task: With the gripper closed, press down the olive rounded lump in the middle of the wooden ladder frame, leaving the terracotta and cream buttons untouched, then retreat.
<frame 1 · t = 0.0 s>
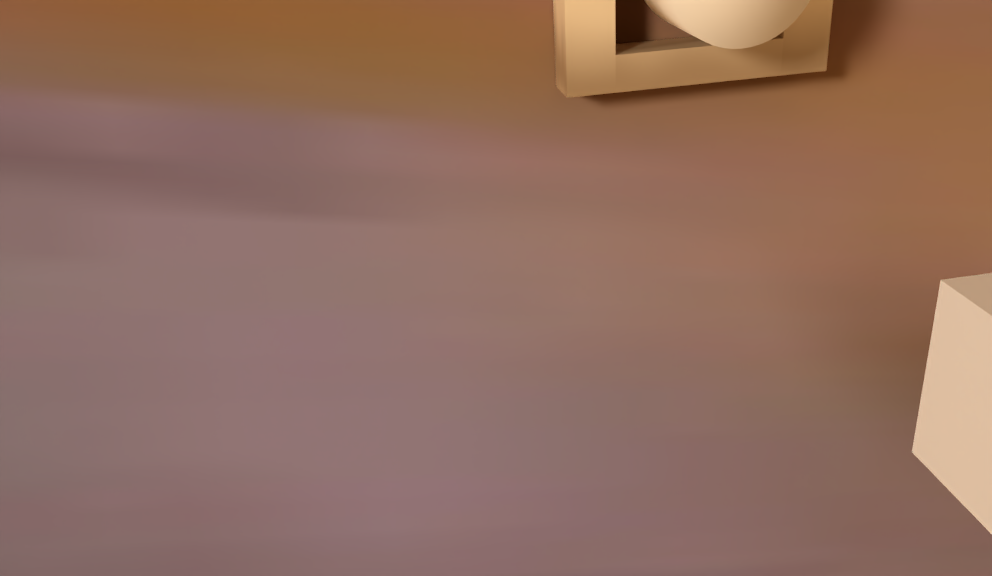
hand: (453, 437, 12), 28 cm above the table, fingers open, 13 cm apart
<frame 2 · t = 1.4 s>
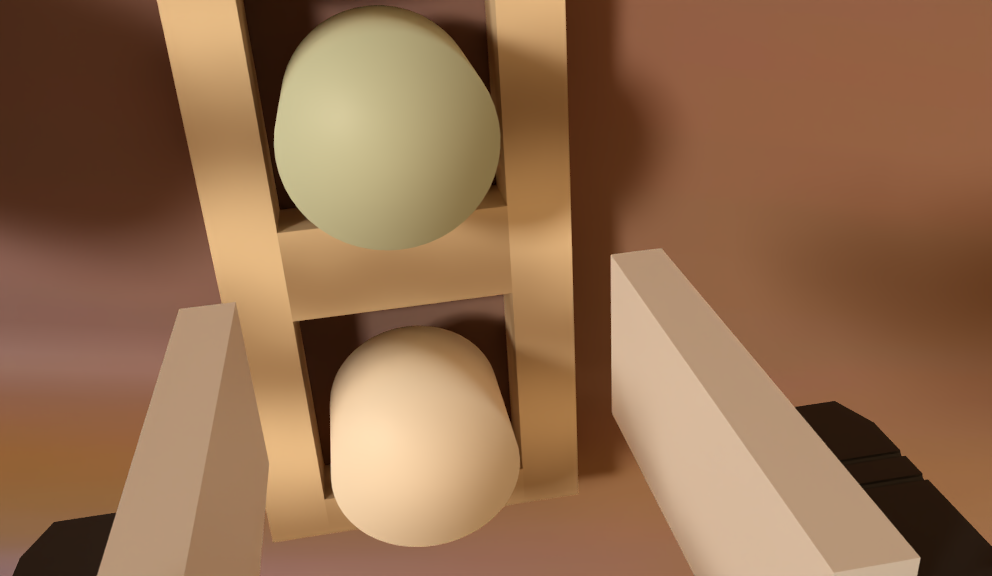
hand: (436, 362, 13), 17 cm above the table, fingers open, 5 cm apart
cream button: (420, 433, 29), point 4 cm above the table, slide at 0.0 cm
wooden ladder frame: (376, 89, 28), on the table
olive rounded lump: (384, 124, 25), point 4 cm above the table, slide at 0.0 cm
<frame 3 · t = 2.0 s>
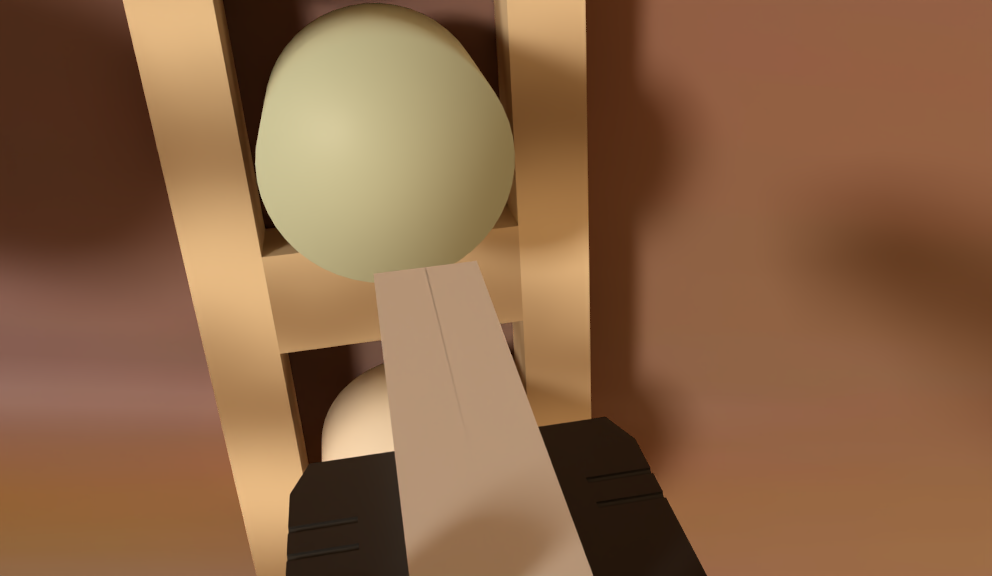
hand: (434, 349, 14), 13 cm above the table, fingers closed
cream button: (422, 477, 26), point 4 cm above the table, slide at 0.0 cm
wooden ladder frame: (373, 96, 25), on the table
olive rounded lump: (382, 139, 22), point 4 cm above the table, slide at 0.0 cm
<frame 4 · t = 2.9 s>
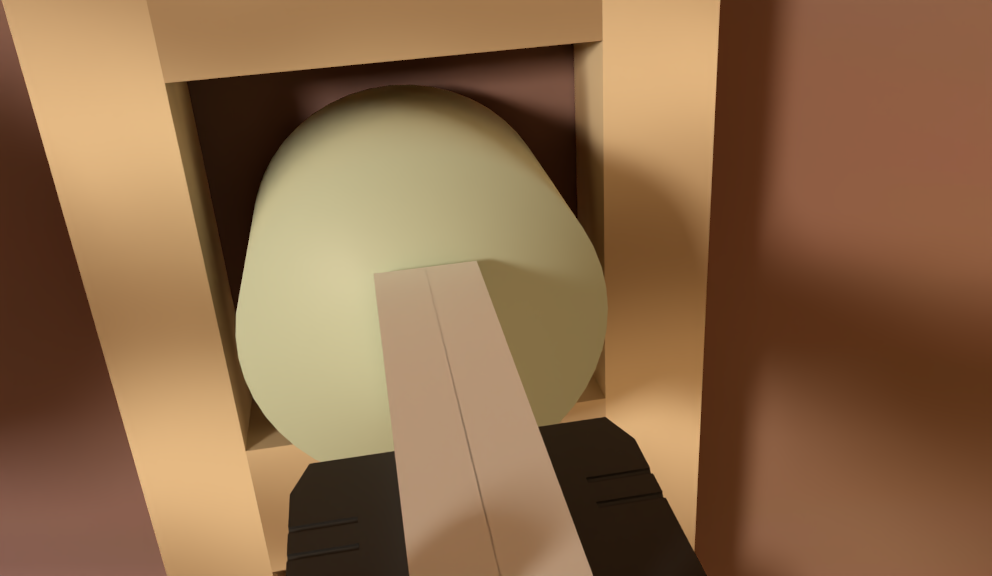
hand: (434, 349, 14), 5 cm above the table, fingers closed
wooden ladder frame: (402, 218, 18), on the table
olive rounded lump: (415, 276, 16), point 3 cm above the table, slide at 1.3 cm, touching gripper
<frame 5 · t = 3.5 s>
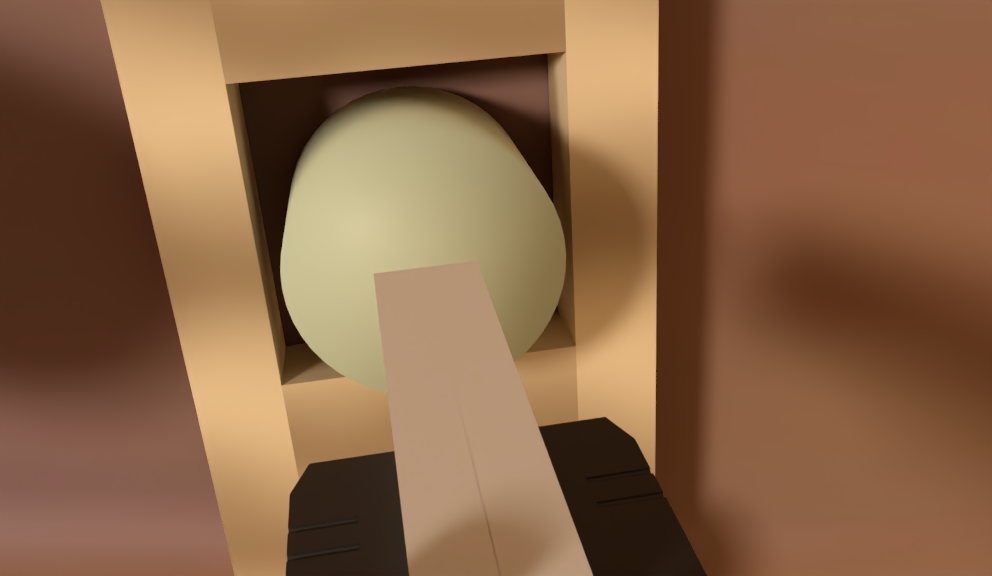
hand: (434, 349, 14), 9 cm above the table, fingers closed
wooden ladder frame: (410, 198, 22), on the table
olive rounded lump: (418, 235, 20), point 3 cm above the table, slide at 1.5 cm
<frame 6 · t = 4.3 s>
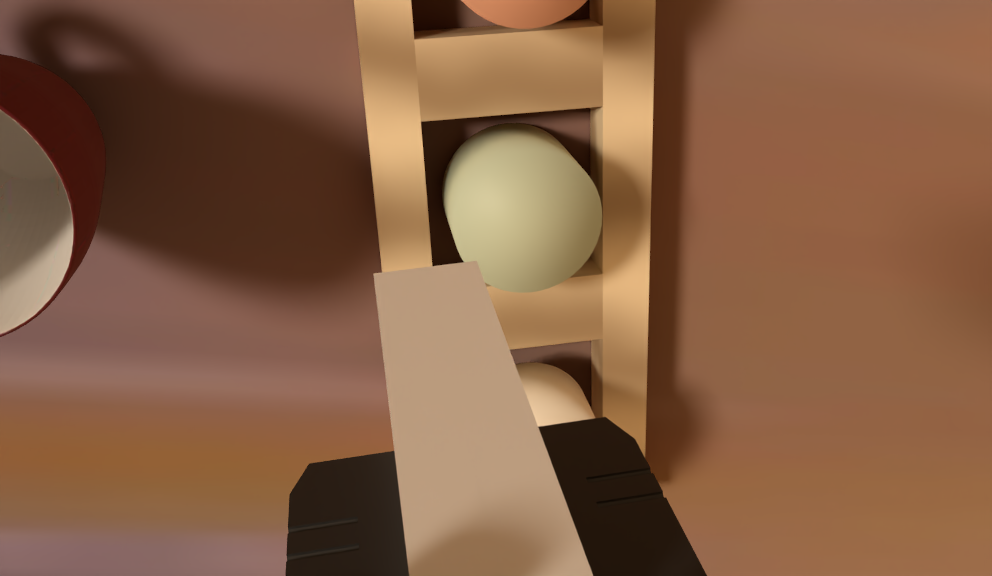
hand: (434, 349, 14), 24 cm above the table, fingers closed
cream button: (533, 444, 39), point 4 cm above the table, slide at 0.0 cm
mug: (7, 101, 34), on the table
wooden ladder frame: (507, 186, 38), on the table
olive rounded lump: (518, 206, 36), point 3 cm above the table, slide at 1.5 cm
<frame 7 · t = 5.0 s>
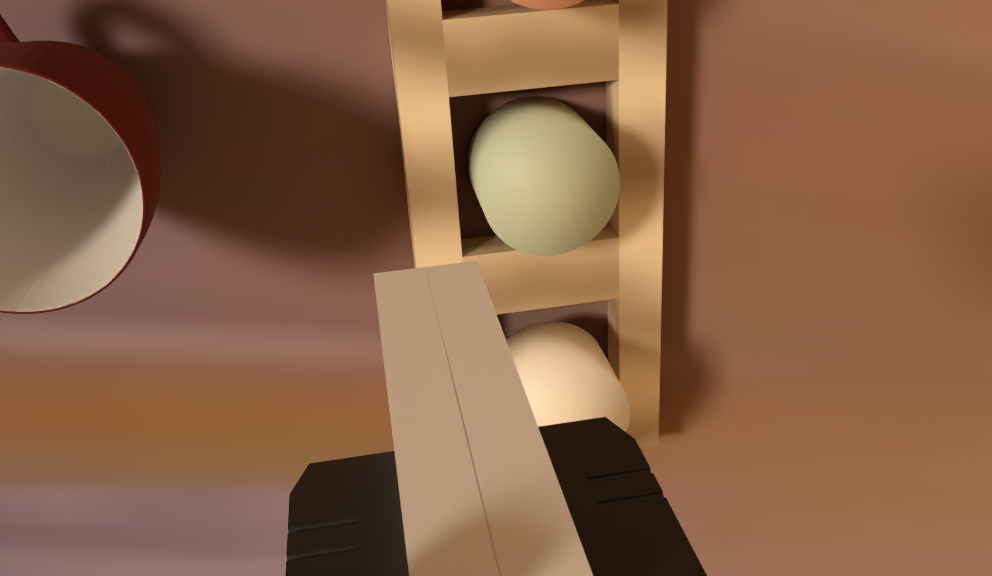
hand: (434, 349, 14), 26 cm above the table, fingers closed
cream button: (556, 397, 42), point 4 cm above the table, slide at 0.0 cm
mug: (60, 84, 36), on the table
wooden ladder frame: (528, 156, 41), on the table
olive rounded lump: (541, 175, 38), point 3 cm above the table, slide at 1.5 cm
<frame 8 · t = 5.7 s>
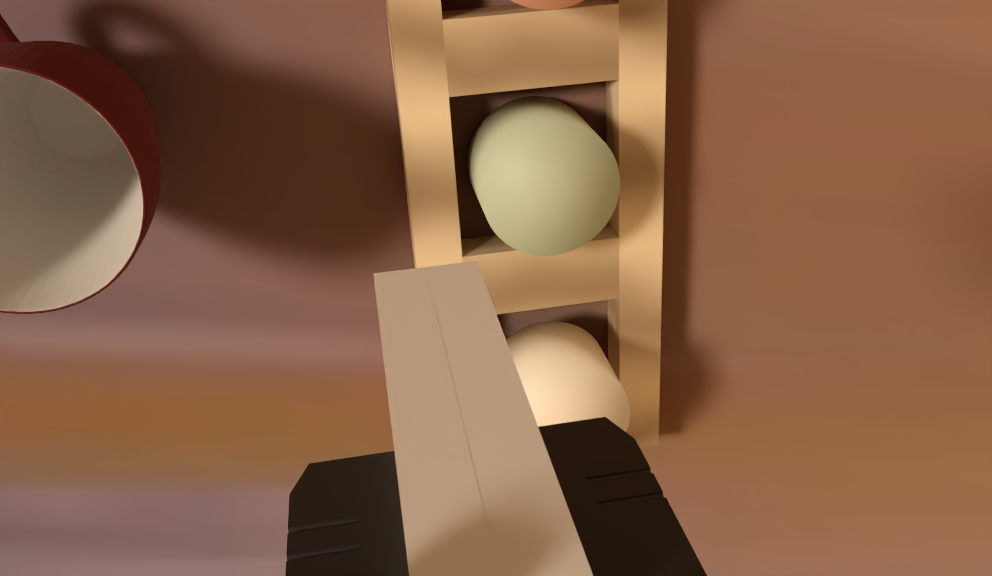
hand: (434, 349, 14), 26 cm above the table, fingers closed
cream button: (556, 397, 42), point 4 cm above the table, slide at 0.0 cm
mug: (60, 84, 36), on the table
wooden ladder frame: (528, 156, 41), on the table
olive rounded lump: (541, 174, 38), point 3 cm above the table, slide at 1.5 cm
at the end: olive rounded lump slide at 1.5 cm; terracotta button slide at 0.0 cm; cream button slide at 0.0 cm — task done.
